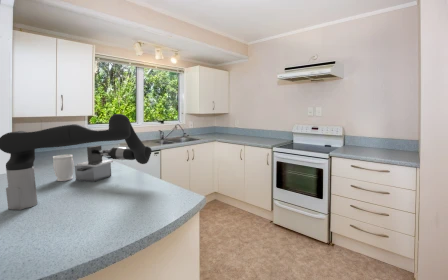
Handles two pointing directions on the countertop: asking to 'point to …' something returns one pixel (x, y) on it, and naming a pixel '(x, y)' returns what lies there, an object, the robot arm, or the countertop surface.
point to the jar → (63, 167)
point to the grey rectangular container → (92, 172)
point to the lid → (94, 157)
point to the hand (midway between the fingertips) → (97, 151)
